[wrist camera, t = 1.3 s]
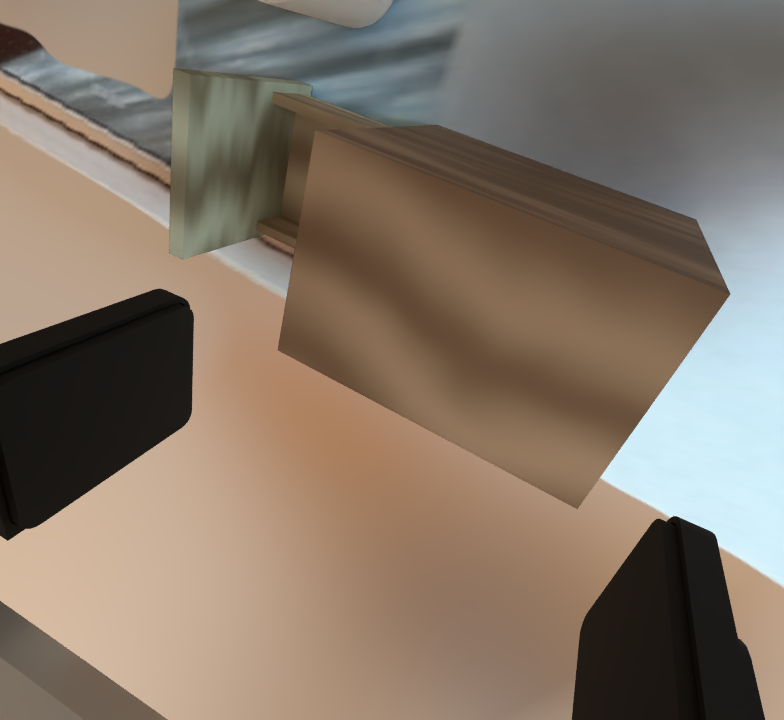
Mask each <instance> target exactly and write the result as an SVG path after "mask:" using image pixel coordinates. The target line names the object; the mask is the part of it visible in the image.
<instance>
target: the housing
mask: <svg viewBox="0 0 784 720" xmlns="http://www.w3.org/2000/svg"><path fill="white" fill-rule="evenodd" d="M729 295H730V292H729V290H728V288H727V286H726V284H725V281H724V279H723V277H722V275H721V273H720V270H719V268H718V266H717V264H716V262H715V260H714V257H713V255H712V253H711V251H710V249H709V247H708V244H707V242H706V240H705V238H704V236H703V234H702V231H701V229H700V227H699V225H698V223H697V221H696V220H695V219H693V218H690V217H687V216H684V215H682V214H679V213H676V212H673V211H671V210H668V209H665V208H663V207H660V206H657V205H654V204H652V203H649V202H646V201H643V200H641V199H638V198H635V197H633V196H630V195H627V194H624V193H622V192H619V191H616V190H613V189H611V188H608V187H605V186H603V185H600V184H597V183H594V182H592V181H589V180H586V179H583V178H581V177H578V176H575V175H572V174H570V173H567V172H564V171H562V170H559V169H556V168H553V167H551V166H548V165H545V164H542V163H540V162H537V161H534V160H532V159H529V158H526V157H523V156H521V155H518V154H515V153H512V152H510V151H507V150H504V149H501V148H499V147H496V146H493V145H491V144H488V143H485V142H482V141H480V140H477V139H474V138H471V137H469V136H466V135H463V134H461V133H458V132H455V131H452V130H450V129H447V128H444V127H441V126H439V125H430V126H406V127H382V128H358V129H334V130H315V135H314V141H313V146H312V152H311V158H310V164H309V170H308V176H307V181H306V187H305V193H304V199H303V205H302V211H301V216H300V222H299V228H298V234H297V240H296V246H295V252H294V257H293V263H292V269H291V275H290V281H289V287H288V292H287V298H286V305H285V310H284V316H283V322H282V327H281V334H280V339H279V346H278V350H279V351H281V352H282V353H284V354H286V355H288V356H290V357H292V358H294V359H296V360H297V361H299V362H301V363H303V364H305V365H307V366H309V367H311V368H312V369H314V370H316V371H318V372H320V373H322V374H324V375H326V376H328V377H329V378H331V379H333V380H335V381H337V382H339V383H341V384H343V385H344V386H346V387H348V388H350V389H352V390H354V391H356V392H358V393H360V394H362V395H363V396H365V397H367V398H369V399H371V400H373V401H375V402H376V403H378V404H380V405H382V406H384V407H386V408H388V409H390V410H392V411H394V412H396V413H398V414H399V415H401V416H403V417H405V418H407V419H409V420H410V421H412V422H414V423H416V424H418V425H420V426H422V427H424V428H425V429H427V430H429V431H431V432H433V433H435V434H437V435H439V436H441V437H442V438H444V439H446V440H448V441H450V442H452V443H454V444H456V445H458V446H459V447H461V448H463V449H465V450H467V451H469V452H471V453H473V454H474V455H476V456H478V457H480V458H482V459H484V460H486V461H488V462H490V463H491V464H494V465H495V466H497V467H499V468H501V469H503V470H505V471H507V472H508V473H510V474H512V475H514V476H516V477H518V478H520V479H522V480H523V481H525V482H527V483H529V484H531V485H533V486H535V487H537V488H539V489H540V490H542V491H544V492H546V493H548V494H550V495H552V496H554V497H556V498H557V499H559V500H561V501H563V502H565V503H567V504H569V505H571V506H572V507H574V508H577V509H578V507H579V506H580V505H581V503H582V502H583V500H584V499H585V497H586V496H587V495H588V493H589V492H590V491H591V489H592V488H593V486H594V485H595V484H596V482H597V481H598V479H599V478H600V477H601V475H602V474H603V472H604V471H605V469H606V468H607V467H608V465H609V464H610V462H611V461H612V460H613V458H614V457H615V455H616V454H617V453H618V451H619V450H620V448H621V447H622V446H623V444H624V443H625V441H626V440H627V439H628V437H629V436H630V434H631V433H632V432H633V430H634V429H635V427H636V426H637V425H638V423H639V422H640V420H641V419H642V418H643V416H644V415H645V413H646V412H647V410H648V409H649V408H650V406H651V405H652V403H653V402H654V401H655V399H656V398H657V396H658V395H659V394H660V392H661V391H662V389H663V388H664V387H665V385H666V384H667V382H668V381H669V380H670V378H671V377H672V375H673V374H674V373H675V371H676V370H677V368H678V367H679V366H680V364H681V363H682V361H683V360H684V359H685V357H686V356H687V354H688V353H689V352H690V350H691V349H692V347H693V346H694V344H695V343H696V342H697V340H698V339H699V337H700V336H701V335H702V333H703V332H704V330H705V329H706V328H707V326H708V325H709V323H710V322H711V321H712V319H713V318H714V316H715V315H716V314H717V312H718V311H719V309H720V308H721V307H722V305H723V304H724V302H725V301H726V300H727V298H728V297H729Z"/></svg>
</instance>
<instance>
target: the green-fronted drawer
mask: <svg viewBox="0 0 784 720" xmlns="http://www.w3.org/2000/svg"><path fill="white" fill-rule="evenodd" d="M312 87H313V86H312V85H309V84H306V83H303V82H301V81H294V80H284V79H274V78H264V77H254V76H244V75H235V74H225V73H215V72H205V71H195V70H185V69H175V68H174V70H173V110H172V149H171V188H170V227H169V253H170V254H172V255H174V256H177V257H179V258H180V259H186V258H189V257H192V256H196V255H199V254H202V253H206V252H209V251H212V250H215V249H219V248H222V247H225V246H228V245H232V244H235V243H238V242H241V241H245V240H248V239H251V238H255V237H258V236H261V235H264V234H265V235H268V236H270V237H272V238H274V239H276V240H278V241H280V242H283V243H285V244H287V245H289V246H291V247H293V248H295V246H296V240H297V234H298V228H299V222H300V216H301V211H302V205H303V199H304V193H305V187H306V181H307V176H308V170H309V164H310V158H311V152H312V146H313V141H314V135H315V130H334V129H358V128H382V127H391V126H388V125H385V124H383V123H380V122H377V121H375V120H372V119H369V118H367V117H364V116H361V115H359V114H356V113H353V112H351V111H348V110H345V109H343V108H340V107H337V106H335V105H332V104H329V103H327V102H324V101H321V100H319V99H316V98H313V97H311V93H312Z"/></svg>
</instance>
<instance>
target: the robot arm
mask: <svg viewBox="0 0 784 720" xmlns="http://www.w3.org/2000/svg"><path fill="white" fill-rule="evenodd" d="M193 323H194V316H193V312H192V310H190V305H189V303H188V301H187V300H185V299H184V298H182V297H179V296H177V295H175V294H173V293H171V292H168V291H166V290H163V289H155V290H152V291H149V292H146V293H143V294H141V295H138V296H135V297H133V298H130V299H126V300H124V301H121V302H118V303H115V304H112V305H109V306H107V307H104V308H101V309H98V310H95V311H92V312H90V313H87V314H84V315H81V316H78V317H75V318H73V319H70V320H67V321H64V322H62V323H59V324H56V325H53V326H50V327H47V328H45V329H42V330H39V331H36V332H33V333H30V334H27V335H24V336H22V337H19V338H16V339H13V340H10V341H7V342H5V343H2V344H0V536H2V537H3V538H4V539H6V540H7V541H8V540H10V539H11V538H13V537H14V536H16V535H17V534H18V533H20V532H21V531H23V530H24V529H30V528H33V527H36V526H38V525H40V524H41V523H43V522H44V521H46V520H47V519H49V518H50V517H52V516H53V515H55V514H56V513H58V512H59V511H61V510H62V509H63V508H65V507H66V506H68V505H69V504H71V503H72V502H74V501H75V500H76V499H78V498H80V497H81V496H82V495H84V494H85V493H87V492H88V491H90V490H91V489H93V488H94V487H96V486H97V485H98V484H100V483H101V482H103V481H104V480H106V479H107V478H109V477H110V476H112V475H113V474H115V473H116V472H118V471H119V470H120V469H122V468H123V467H125V466H126V465H128V464H129V463H131V462H132V461H134V460H135V459H137V458H138V457H140V456H141V455H142V454H144V453H145V452H147V451H148V450H150V449H151V448H153V447H154V446H156V445H157V444H159V443H160V442H161V441H163V440H164V439H166V438H167V437H169V436H170V435H172V434H173V433H175V432H176V431H178V430H179V429H180V428H182V427H183V426H184V425H185V424H186V423H187V422H188V420H189V418H190V416H191V412H192V375H193V371H192V370H193V325H194V324H193ZM579 639H580V640H579V649H578V660H577V670H576V681H575V692H574V703H573V713H572V720H765V717H764V713H763V709H762V705H761V700H760V696H759V691H758V687H757V682H756V678H755V674H754V669H753V665H752V660H751V657H750V654H749V652H748V649H747V647H746V645H745V644H744V643H743V642H742V641H741V640H740V639H738V637H737V633H736V627H735V623H734V618H733V613H732V608H731V604H730V599H729V595H728V590H727V585H726V580H725V576H724V571H723V566H722V562H721V557H720V553H719V548H718V543H717V539H716V536H715V534H714V533H712V532H711V531H708V530H706V529H704V528H702V527H699V526H697V525H695V524H693V523H690V522H688V521H686V520H684V519H681V518H679V517H677V516H673V517H671V518H670V519H669V520H668V521H667V522H666V521H664V520H661V519H656V520H655V521H654V522H653V523H652V524H651V525H650V527H649V528H648V530H647V531H646V532H645V534H644V535H643V537H642V538H641V539H640V541H639V542H638V544H637V545H636V546H635V548H634V549H633V550H632V552H631V553H630V555H629V556H628V557H627V559H626V560H625V561H624V563H623V564H622V566H621V567H620V568H619V570H618V571H617V573H616V574H615V575H614V577H613V578H612V580H611V581H610V582H609V584H608V585H607V586H606V588H605V589H604V591H603V592H602V594H601V595H600V596H599V598H598V599H597V600H596V602H595V603H594V605H593V606H592V607H591V609H590V610H589V611H588V613H587V615H586V616H585V619H584V621H583V624H582V627H581V631H580V638H579ZM0 720H167V719H166V718H164V717H163V716H162V715H160V714H159V713H158V712H156V711H155V710H153V709H152V708H150V707H149V706H148V705H146V704H145V703H143V702H142V701H141V700H139V699H138V698H136V697H135V696H134V695H132V694H131V693H129V692H128V691H126V690H125V689H124V688H122V687H121V686H119V685H118V684H117V683H115V682H114V681H112V680H111V679H109V678H108V677H107V676H105V675H104V674H103V673H101V672H100V671H98V670H97V669H96V668H94V667H93V666H91V665H90V664H89V663H87V662H86V661H84V660H83V659H81V658H80V657H79V656H77V655H76V654H74V653H73V652H72V651H70V650H69V649H67V648H66V647H64V646H63V645H62V644H60V643H59V642H57V641H56V640H55V639H53V638H51V637H50V636H49V635H48V634H46V633H45V632H43V631H42V630H41V629H39V628H38V627H36V626H35V625H33V624H32V623H31V622H29V621H28V620H26V619H25V618H24V617H22V616H21V615H19V614H18V613H16V612H15V611H13V610H12V609H11V608H9V607H8V606H7V605H5V604H4V603H2V602H1V601H0Z"/></svg>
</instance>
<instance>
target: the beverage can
mask: <svg viewBox="0 0 784 720" xmlns="http://www.w3.org/2000/svg"><path fill="white" fill-rule="evenodd" d="M258 1H260V2H263V3H266V4H269V5H273V6H276V7H280V8H283V9H286V10H290V11H293V12H297V13H300V14H303V15H307V16H310V17H314V18H317V19H321V20H324V21H327V22H331V23H334V24H338V25H342V26H345V27H350V28H363V27H367V26H369V25H372V24H373V23H375V22H376V21H378V20H379V19H380V18H381V17H382V16H383V15H384V14H385V13H386V12H387V10H388V9H389V7H390V6H391V4H392V2H393V0H258Z"/></svg>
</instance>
